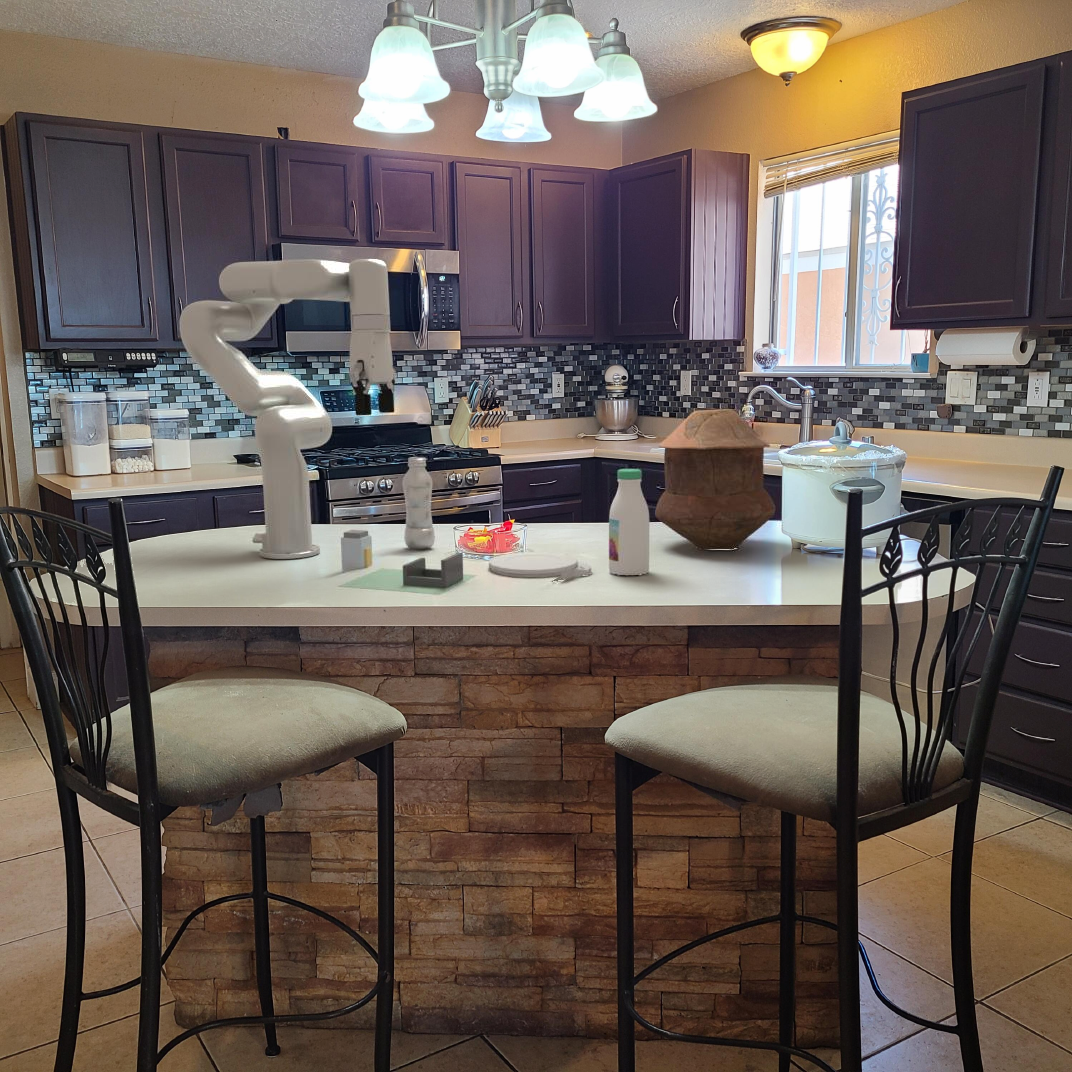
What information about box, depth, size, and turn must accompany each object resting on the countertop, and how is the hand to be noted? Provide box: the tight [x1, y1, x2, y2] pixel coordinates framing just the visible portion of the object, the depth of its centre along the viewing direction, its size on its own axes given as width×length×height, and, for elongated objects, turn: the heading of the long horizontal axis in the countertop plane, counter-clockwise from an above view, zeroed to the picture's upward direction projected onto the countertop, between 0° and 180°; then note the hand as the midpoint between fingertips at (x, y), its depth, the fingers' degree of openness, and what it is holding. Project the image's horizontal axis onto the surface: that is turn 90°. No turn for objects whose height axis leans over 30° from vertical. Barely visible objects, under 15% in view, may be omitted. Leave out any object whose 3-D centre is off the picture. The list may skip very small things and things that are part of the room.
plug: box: [340, 529, 373, 574], centre depth 194 cm, size 5×4×8 cm
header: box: [402, 552, 464, 588], centre depth 179 cm, size 8×7×5 cm
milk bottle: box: [608, 468, 650, 576], centre depth 189 cm, size 8×8×20 cm
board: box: [337, 568, 477, 595], centre depth 181 cm, size 20×16×1 cm
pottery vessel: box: [654, 408, 776, 550], centre depth 213 cm, size 26×26×30 cm
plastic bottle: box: [401, 456, 436, 550], centre depth 216 cm, size 6×7×20 cm
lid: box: [488, 551, 592, 583], centre depth 191 cm, size 17×20×3 cm
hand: (375, 413), depth 196 cm, fingers open, 9 cm apart
